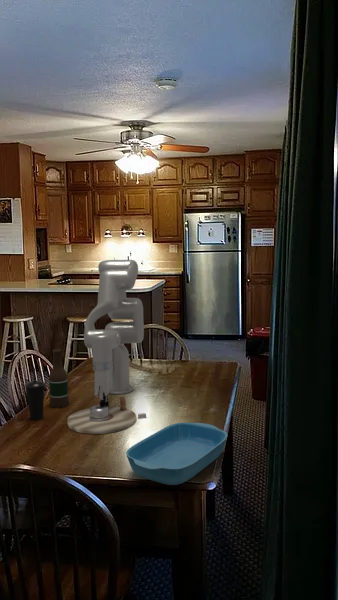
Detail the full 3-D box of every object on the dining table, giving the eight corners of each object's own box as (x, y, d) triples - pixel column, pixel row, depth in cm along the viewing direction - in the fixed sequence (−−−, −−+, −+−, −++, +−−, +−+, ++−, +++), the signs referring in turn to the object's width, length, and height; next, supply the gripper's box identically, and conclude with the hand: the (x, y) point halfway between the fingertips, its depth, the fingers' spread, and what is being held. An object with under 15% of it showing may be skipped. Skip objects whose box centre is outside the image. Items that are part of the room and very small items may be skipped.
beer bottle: (72, 403, 222) (70, 348, 219) (61, 409, 215) (58, 352, 212) (57, 401, 225) (55, 346, 222) (46, 406, 218) (43, 350, 215)
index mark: (138, 418, 202) (138, 414, 201) (138, 417, 203) (137, 413, 203) (146, 417, 202) (146, 414, 202) (145, 416, 204) (145, 412, 203)
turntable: (53, 422, 199) (52, 406, 198) (105, 405, 218) (105, 390, 217) (97, 439, 181) (96, 421, 180) (150, 419, 200) (149, 403, 199)
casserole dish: (177, 498, 140) (176, 473, 139) (113, 478, 153) (112, 455, 152) (238, 450, 170) (238, 429, 170) (180, 437, 183) (180, 417, 182)
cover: (85, 418, 199) (85, 407, 198) (102, 413, 204) (102, 402, 203) (96, 423, 193) (95, 412, 193) (113, 418, 198) (113, 407, 197)
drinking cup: (29, 422, 200) (26, 371, 197) (24, 416, 207) (21, 367, 204) (48, 419, 203) (46, 368, 201) (44, 413, 210) (41, 364, 208)
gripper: (97, 360, 210) (98, 405, 212) (88, 370, 195) (90, 417, 197) (115, 360, 209) (117, 405, 211) (108, 370, 194) (110, 417, 196)
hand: (104, 411), depth 204 cm, fingers closed
